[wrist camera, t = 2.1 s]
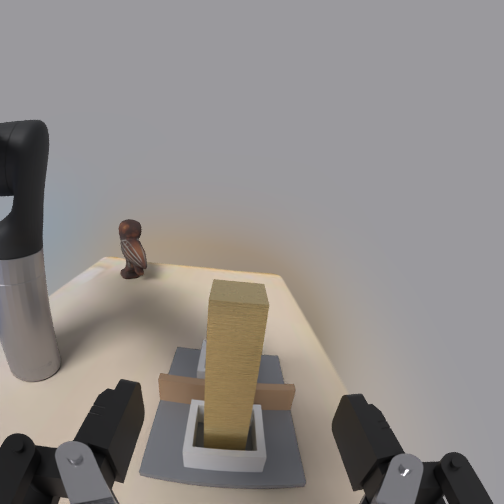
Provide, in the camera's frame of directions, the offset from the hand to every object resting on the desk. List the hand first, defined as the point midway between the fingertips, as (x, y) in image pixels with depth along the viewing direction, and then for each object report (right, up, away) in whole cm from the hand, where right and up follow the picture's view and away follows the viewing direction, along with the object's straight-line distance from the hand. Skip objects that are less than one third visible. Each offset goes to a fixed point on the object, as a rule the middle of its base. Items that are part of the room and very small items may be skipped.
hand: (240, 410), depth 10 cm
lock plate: (-3, -13, +22) cm, 25 cm away
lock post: (-3, -14, +15) cm, 21 cm away
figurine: (-31, -1, +61) cm, 69 cm away
